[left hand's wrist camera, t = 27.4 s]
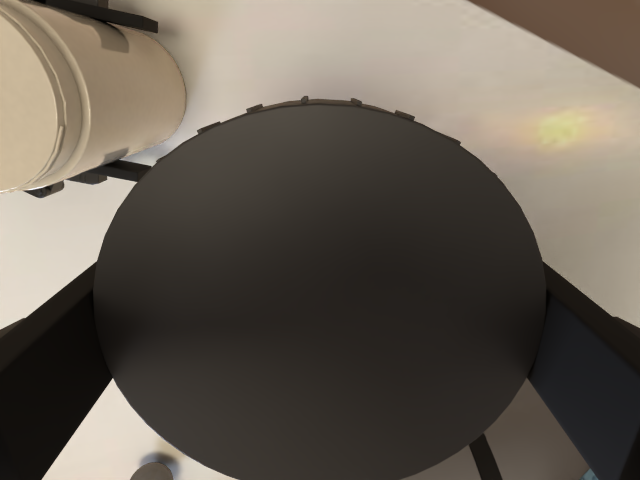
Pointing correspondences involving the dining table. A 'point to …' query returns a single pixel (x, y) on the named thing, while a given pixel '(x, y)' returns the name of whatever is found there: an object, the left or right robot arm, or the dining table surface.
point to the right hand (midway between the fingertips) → (147, 104)
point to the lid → (319, 295)
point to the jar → (78, 94)
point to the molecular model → (153, 472)
